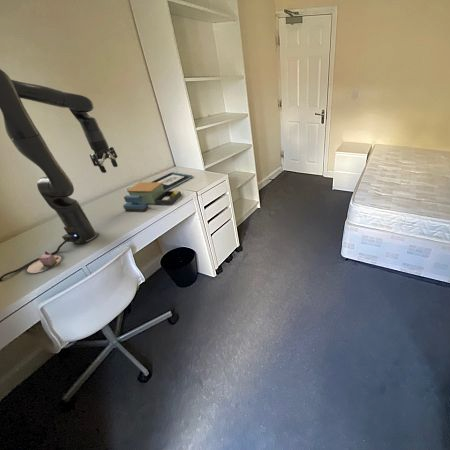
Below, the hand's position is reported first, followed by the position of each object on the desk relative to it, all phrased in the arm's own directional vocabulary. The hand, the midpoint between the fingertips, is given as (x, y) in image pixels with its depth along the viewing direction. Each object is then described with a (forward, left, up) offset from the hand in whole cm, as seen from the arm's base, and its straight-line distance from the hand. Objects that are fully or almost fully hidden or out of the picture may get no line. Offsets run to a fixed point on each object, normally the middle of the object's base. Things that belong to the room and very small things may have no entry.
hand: (110, 169), depth 140 cm
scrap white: (+12, -17, -24) cm, 32 cm away
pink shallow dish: (-48, +7, -26) cm, 55 cm away
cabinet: (+15, -4, -26) cm, 30 cm away
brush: (+2, -4, -26) cm, 26 cm away
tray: (+15, -17, -26) cm, 35 cm away
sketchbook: (+41, -1, -26) cm, 49 cm away
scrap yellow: (+19, -20, -24) cm, 37 cm away
